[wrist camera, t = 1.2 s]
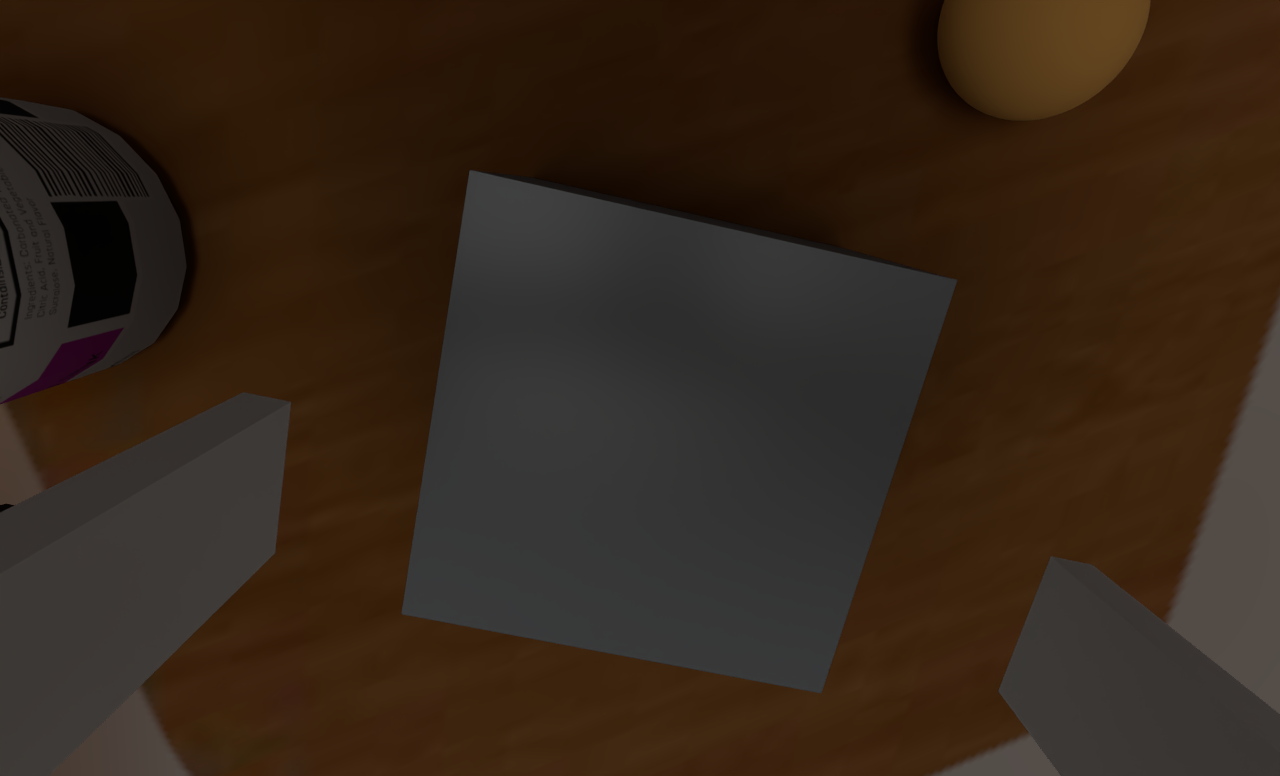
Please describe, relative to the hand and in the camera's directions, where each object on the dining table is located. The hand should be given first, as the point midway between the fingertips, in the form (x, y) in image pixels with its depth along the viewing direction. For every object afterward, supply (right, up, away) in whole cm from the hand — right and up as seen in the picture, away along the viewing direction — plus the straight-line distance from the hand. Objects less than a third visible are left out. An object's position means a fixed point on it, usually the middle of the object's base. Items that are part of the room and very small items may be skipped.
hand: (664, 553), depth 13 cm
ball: (+10, +13, +7) cm, 18 cm away
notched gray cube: (0, +4, +12) cm, 13 cm away
